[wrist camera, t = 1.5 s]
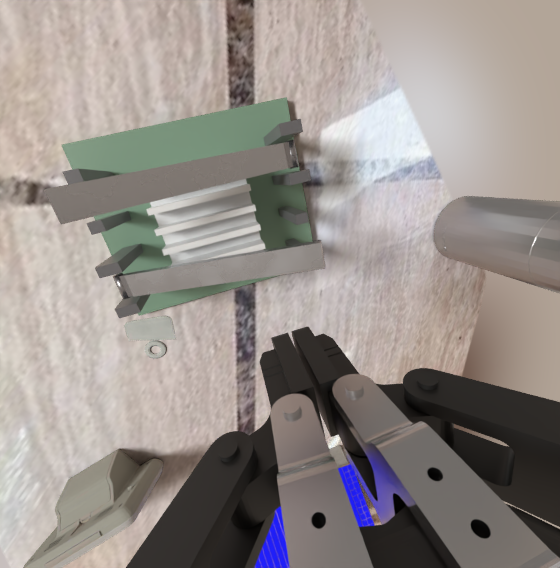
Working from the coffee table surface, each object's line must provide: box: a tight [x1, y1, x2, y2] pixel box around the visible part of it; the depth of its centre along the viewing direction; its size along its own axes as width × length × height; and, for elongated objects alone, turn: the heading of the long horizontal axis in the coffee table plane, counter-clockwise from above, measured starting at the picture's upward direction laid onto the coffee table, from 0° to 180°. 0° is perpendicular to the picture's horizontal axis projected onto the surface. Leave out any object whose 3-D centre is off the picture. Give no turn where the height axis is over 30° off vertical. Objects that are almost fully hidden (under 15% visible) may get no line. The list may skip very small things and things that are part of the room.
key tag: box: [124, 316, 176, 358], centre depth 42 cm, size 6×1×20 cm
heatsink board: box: [62, 97, 313, 318], centre depth 31 cm, size 24×20×10 cm
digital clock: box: [23, 449, 163, 568], centre depth 40 cm, size 16×9×11 cm, turn 107°
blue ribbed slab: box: [254, 445, 375, 568], centre depth 51 cm, size 19×25×10 cm
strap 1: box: [44, 140, 299, 224], centre depth 23 cm, size 20×2×1 cm, turn 102°
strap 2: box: [113, 240, 325, 299], centre depth 26 cm, size 20×2×1 cm, turn 103°
